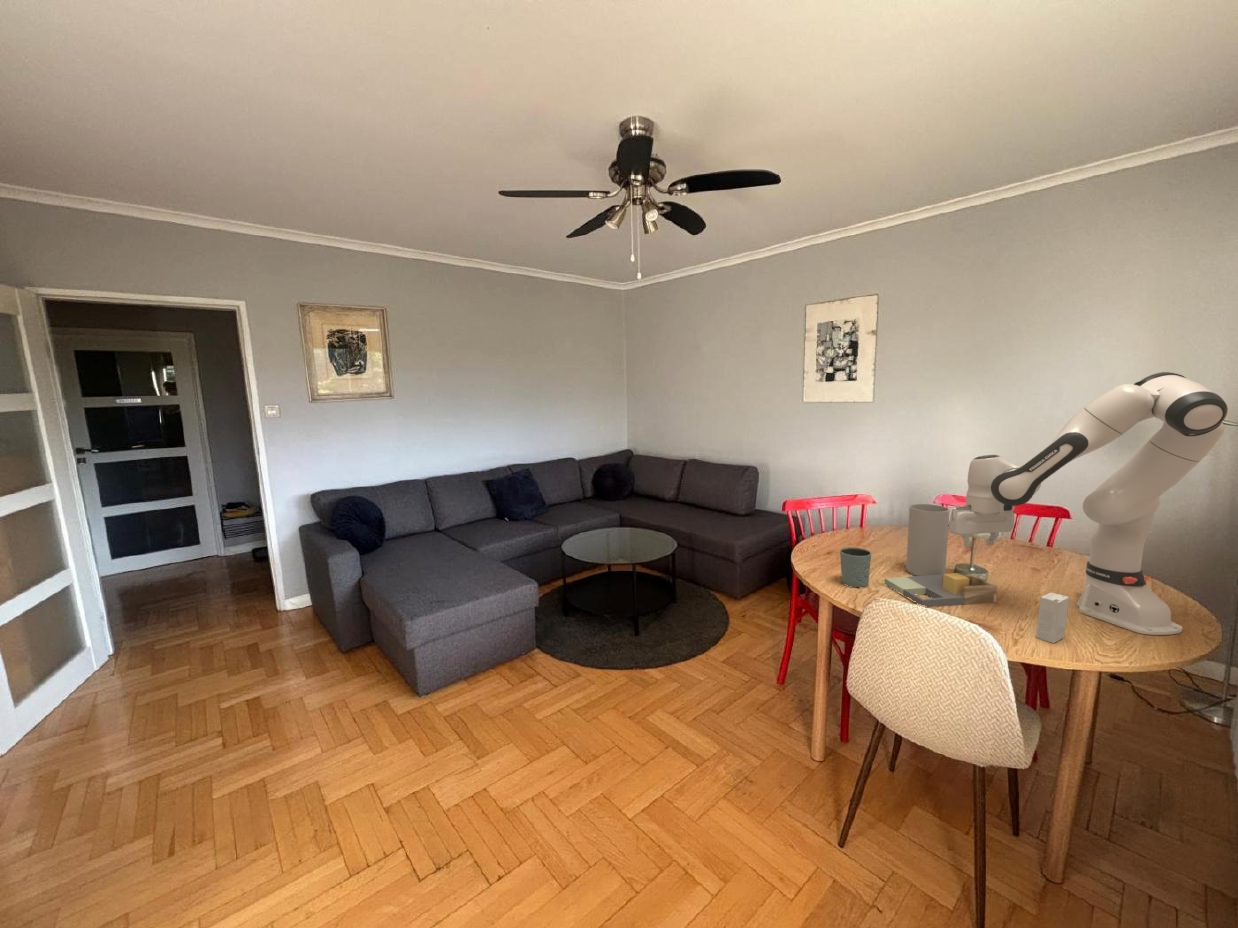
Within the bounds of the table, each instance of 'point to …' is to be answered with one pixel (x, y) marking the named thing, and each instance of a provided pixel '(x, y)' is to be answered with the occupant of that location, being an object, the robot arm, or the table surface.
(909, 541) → the cylinder vase
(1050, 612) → the skincare box
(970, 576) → the brown wooden open box
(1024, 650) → the table surface
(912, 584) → the grey tray
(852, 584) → the teal cup
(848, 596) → the table surface
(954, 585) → the ochre block
